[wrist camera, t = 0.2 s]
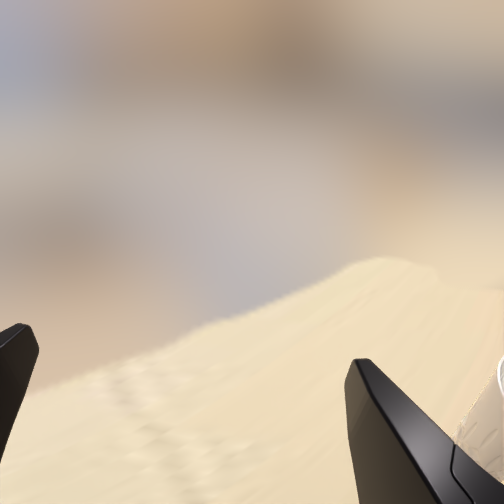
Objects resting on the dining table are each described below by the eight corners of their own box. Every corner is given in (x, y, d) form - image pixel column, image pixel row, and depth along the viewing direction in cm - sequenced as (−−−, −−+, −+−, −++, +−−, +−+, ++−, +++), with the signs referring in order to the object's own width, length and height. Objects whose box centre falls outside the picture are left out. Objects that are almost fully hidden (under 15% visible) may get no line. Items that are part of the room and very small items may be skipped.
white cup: (509, 493, 13) (587, 422, 9) (435, 509, 14) (518, 442, 10) (493, 425, 20) (551, 348, 15) (427, 430, 21) (483, 347, 17)
